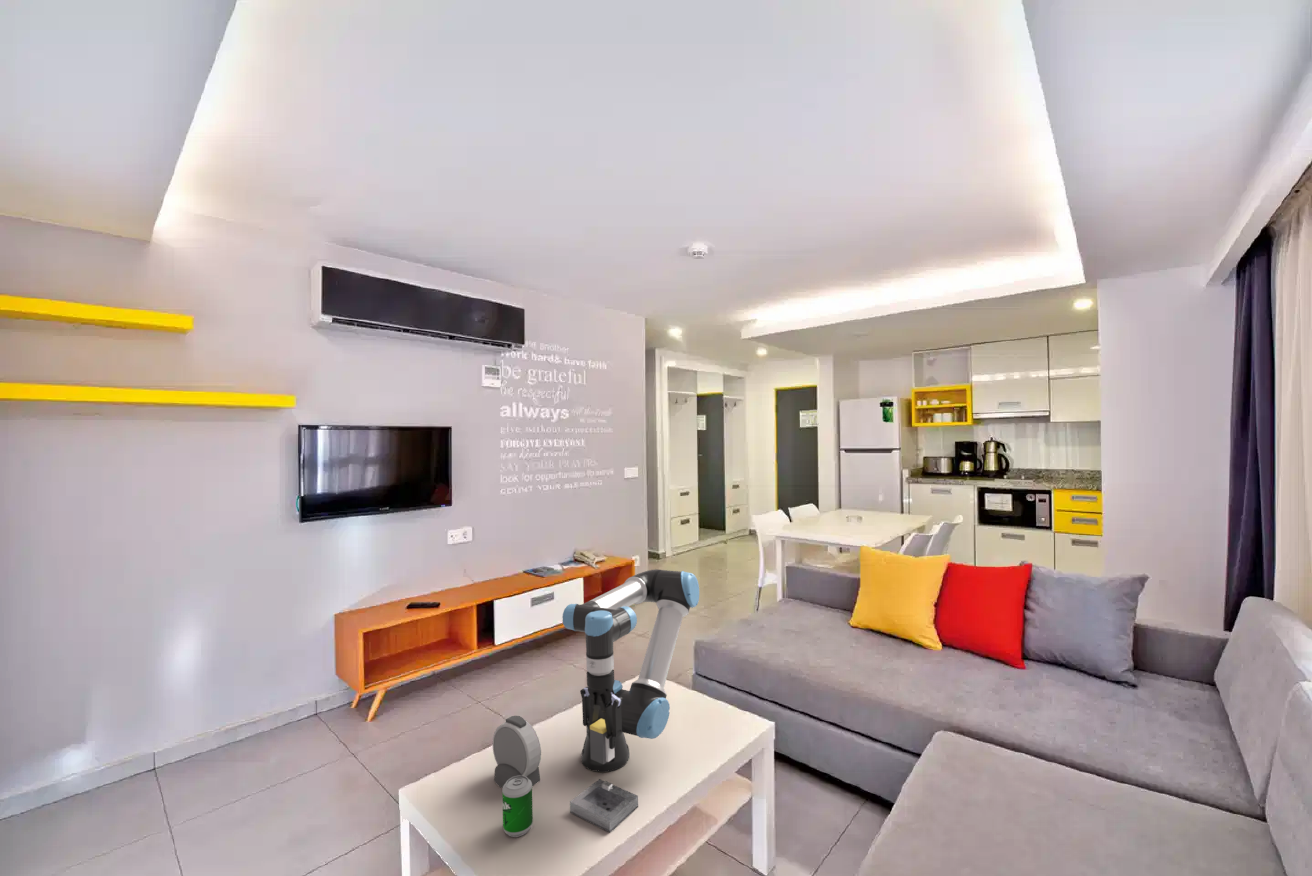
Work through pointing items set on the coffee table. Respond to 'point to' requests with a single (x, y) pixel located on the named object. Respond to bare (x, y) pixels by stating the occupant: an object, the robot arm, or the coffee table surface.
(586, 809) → the socket plate
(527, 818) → the soda can
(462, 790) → the coffee table surface
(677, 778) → the coffee table surface
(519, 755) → the alarm clock
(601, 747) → the plug
